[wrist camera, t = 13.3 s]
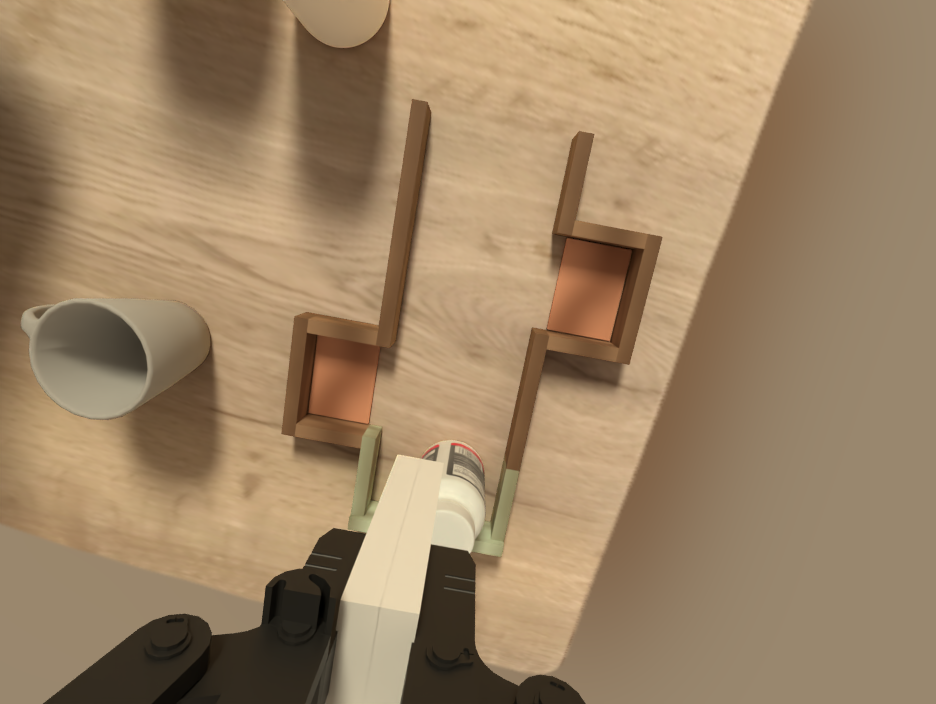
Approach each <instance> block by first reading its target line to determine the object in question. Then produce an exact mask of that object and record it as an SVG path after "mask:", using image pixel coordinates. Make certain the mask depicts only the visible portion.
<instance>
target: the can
mask: <svg viewBox="0 0 936 704" xmlns="http://www.w3.org/2000/svg"><path fill="white" fill-rule="evenodd" d="M283 1H284V2H285V4H286V5H287V6H288V7H289V9H290V10H291V11H292V12H293V14H294V15H295V16H296V17H297V19H298V20H299V21H300V22H301V23H302V25H303V26H304V27H305V28H306V29H307V30H308V32H309V33H310V34H311V35H313V36H314V37H315V38H316V39H318V40H319V41H321V42H322V43H324V44H327V45H329V46H332V47H337V48H350V47H355V46H358V45H360V44H362V43H364V42H366V41H368V40H369V39H370V38H371V37H373V36H374V35H375V34H376V33H377V31H378V30H379V29H380V27H381V26H382V24H383V22H384V20H385V18H386V15H387V12H388V7H389V0H283Z"/></svg>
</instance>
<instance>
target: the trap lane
mask: <svg viewBox="0 0 936 704" xmlns="http://www.w3.org/2000/svg"><path fill="white" fill-rule="evenodd" d="M430 118H431V110H430V108H429V105H428V102H425V101H419V100H414V99H412V104H411V111H410V118H409V124H408V131H407V138H406V145H405V151H404V158H403V165H402V172H401V179H400V185H399V192H398V199H397V206H396V212H395V219H394V226H393V233H392V240H391V246H390V253H389V260H388V267H387V273H386V280H385V287H384V294H383V301H382V307H381V314H380V321H379V325H374V324H368V323H363V322H357V321H352V320H347V319H341V318H336V317H331V316H325V315H320V314H314V313H309V312H306V313H303V314H300V315H297V316H295V317H294V326H293V335H292V344H291V353H290V362H289V371H288V380H287V389H286V398H285V407H284V416H283V425H282V434H284V435H289V436H295V437H300V438H306V439H311V440H317V441H322V442H327V443H333V444H338V445H344V446H349V447H355V448H360V449H361V450H360V456H359V463H358V470H357V477H356V483H355V490H354V497H353V504H352V511H351V515H350V517H349V523H348V529H349V530H354V531H360V532H365V533H367V531H368V528H369V526H370V523H371V521H372V518H373V516H374V513H375V511H376V508H377V505H378V503H379V502H378V501H372V500H371V496H372V490H373V483H374V477H375V470H376V464H377V458H378V451H379V445H380V438H381V432H382V427H381V426H376V425H370V424H369V419H370V412H371V405H372V399H373V392H374V385H375V379H376V372H377V365H378V359H379V352H380V346H381V347H386V348H390V347H391V346H392V345H393V344H394V343H395V342H396V336H397V329H398V323H399V317H400V310H401V304H402V297H403V291H404V285H405V278H406V272H407V265H408V259H409V252H410V246H411V240H412V233H413V227H414V220H415V214H416V208H417V201H418V195H419V188H420V182H421V175H422V169H423V163H424V156H425V150H426V143H427V137H428V131H429V124H430ZM593 138H594V134H592V133H586V132H581V131H579V132H578V133H577V134H576V136H575V137H574V138H573V139H572V143H571V148H570V152H569V157H568V162H567V166H566V171H565V176H564V180H563V185H562V190H561V194H560V199H559V204H558V208H557V213H556V218H555V222H554V227H553V232H552V234H556V235H561V236H567V237H572V238H577V239H583V240H588V241H593V242H598V243H604V244H609V245H614V246H620V247H625V248H630V249H633V251H632V250H629V249H623V248H618V247H613V246H607V245H602V244H597V243H592V242H586V241H581V240H576V239H570V238H567V239H566V243H565V248H564V252H563V257H562V261H561V266H560V270H559V275H558V279H557V284H556V289H555V293H554V298H553V302H552V307H551V311H550V316H549V320H548V325H547V329H548V330H553V331H559V332H564V333H569V334H564V333H559V332H553V331H548V330H543V329H537V328H532V330H531V335H530V339H529V344H528V349H527V353H526V358H525V363H524V367H523V372H522V377H521V381H520V386H519V391H518V395H517V400H516V405H515V409H514V414H513V419H512V423H511V428H510V433H509V437H508V442H507V447H506V451H505V456H504V461H503V465H502V470H501V475H500V479H499V484H498V489H497V493H496V498H495V503H494V507H493V512H492V517H491V521H490V522H488V521H484V525H483V528H482V530H481V532H480V534H479V535H478V536H477V538H476V539H475V542H474V546H473V549H472V551H471V552H476V553H482V554H487V555H493V556H498V557H502V552H503V548H504V538H505V534H506V529H507V525H508V520H509V516H510V511H511V507H512V502H513V498H514V493H515V489H516V484H517V480H518V475H519V471H520V466H521V462H522V457H523V453H524V448H525V444H526V439H527V435H528V430H529V426H530V421H531V417H532V412H533V408H534V403H535V399H536V394H537V390H538V385H539V381H540V376H541V372H542V367H543V363H544V358H545V354H546V349H548V350H553V351H558V352H564V353H569V354H575V355H580V356H585V357H591V358H596V359H601V360H607V361H612V362H617V363H623V364H628V365H629V364H630V360H631V356H632V352H633V349H634V345H635V341H636V337H637V333H638V329H639V325H640V322H641V318H642V314H643V310H644V306H645V302H646V299H647V295H648V291H649V287H650V283H651V279H652V276H653V272H654V268H655V264H656V260H657V256H658V253H659V249H660V245H661V241H662V237H661V236H655V235H650V234H645V233H640V232H634V231H629V230H624V229H618V228H613V227H608V226H603V225H597V224H592V223H587V222H582V221H576V220H575V219H576V214H577V210H578V205H579V201H580V196H581V192H582V187H583V183H584V178H585V174H586V169H587V165H588V160H589V156H590V152H591V147H592V143H593ZM631 253H632V255H631ZM630 257H631V259H630ZM629 261H630V263H629ZM628 265H629V267H628ZM627 269H628V271H627ZM626 273H627V275H626ZM625 277H626V279H625ZM624 281H625V283H624ZM623 285H624V287H623ZM622 289H623V291H622ZM621 293H622V295H621ZM620 297H621V299H620ZM619 301H620V303H619ZM618 305H619V307H618ZM617 309H618V311H617ZM616 313H617V315H616ZM615 317H616V319H615ZM614 321H615V323H614ZM613 325H614V327H613ZM612 329H613V331H612ZM611 333H612V335H611ZM570 334H575V335H580V336H586V337H591V338H596V339H602V340H607V341H610V342H607V341H602V340H596V339H591V338H586V337H580V336H575V335H570ZM317 335H318V337H317ZM610 337H611V339H610ZM316 341H317V346H316ZM315 350H316V354H315ZM314 358H315V362H314ZM313 366H314V370H313ZM312 374H313V379H312ZM311 383H312V387H311ZM310 391H311V395H310ZM309 399H310V403H309ZM308 407H309V411H308ZM310 413H311V414H310ZM316 414H317V415H316ZM321 415H322V416H321ZM327 416H328V417H327ZM332 417H333V418H332ZM337 418H339V419H337ZM343 419H344V420H343ZM348 420H350V421H348ZM354 421H355V422H354ZM359 422H360V423H359ZM365 423H366V424H365Z"/></svg>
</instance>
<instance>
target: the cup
mask: <svg viewBox="0 0 936 704" xmlns="http://www.w3.org/2000/svg"><path fill="white" fill-rule="evenodd" d="M21 328H22V330H23V331H24V332H25V333H26V334H27V335H28V337H29V338H30V344H29V356H30V363H31V367H32V370H33V372H34V375H35V377H36V379H37V382H38V383H39V385H40V386H41V387H42V389H43V390H44V391H45V393H46V394H47V395H48V396H49V397H50V398H51V399H52V400H53V401H54V402H55V403H57V404H58V405H59V406H60V407H62V408H64V409H65V410H67V411H69V412H71V413H72V414H74V415H78V416H81V417H85V418H88V419H97V420H109V419H114V418H118V417H122V416H124V415H126V414H128V413H130V412H131V411H133V410H135V409H137V408H138V407H140V406H141V405H143V404H144V403H146V402H148V401H149V400H151V399H152V398H154V397H155V396H157V395H159V394H160V393H162V392H163V391H165V390H166V389H168V388H169V387H171V386H172V385H174V384H175V383H177V382H178V381H179V380H181V379H182V378H183V377H185V376H186V375H188V374H189V373H190V372H192V371H193V370H194V369H196V368H197V367H199V366H200V364H201V363H202V362H203V361H204V360H205V359H206V357H207V355H208V353H209V349H210V344H211V343H210V333H209V330H208V327H207V324H206V323H205V321H204V320H203V318H202V316H201V315H200V314H199V313H198V312H197V311H196V310H195V309H193V308H192V307H190V306H188V305H187V304H185V303H181V302H178V301H171V300H153V299H132V298H75V299H70V300H66V301H62V302H60V303H58V304H56V305H42V306H36V307H32V308H30V309H28V310H26V311H24V313H23V315H22V319H21Z"/></svg>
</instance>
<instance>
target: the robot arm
mask: <svg viewBox="0 0 936 704" xmlns="http://www.w3.org/2000/svg"><path fill="white" fill-rule="evenodd" d="M443 466H444V463H441V462H436V461H431V460H425V459H420V458H414V457H409V456H403V455H398V454H397V457H396V460H395V462H394V465H393V467H392V470H391V472H390V475H389V477H388V480H387V482H386V485H385V488H384V490H383V493H382V495H381V498H380V500H379V503H378V505H377V508H376V511H375V513H374V516H373V518H372V521H371V523H370V526H369V528H368V531H367V533H366V534H364V533H358V532H353V531H347V530H341V529H336V528H333V529H332V530H330V531H329V532H327V533H326V534H325V535H323V536H322V537H320V538H319V540H318V542H317V543H316V545H315V547H314V549H313V551H312V554H311V555H310V556H309V558H308V560H307V562H306V564H305V566H304V567H303V569H296V570H291V571H286V572H284V573H282V574H280V575H278V576H276V577H274V578H273V579H272V580H271V581H270V582H269V583H268V584H267V585H266V589H265V598H264V607H263V616H262V624H261V626H260V627H258V628H255V629H252V630H249V631H245V632H240V633H234V634H222V635H212V632H211V630H210V627H209V625H208V623H207V622H205V621H204V620H203V619H201V618H200V617H198V616H193V615H188V614H176V615H168V616H165V617H162V618H159V619H156V620H153V621H151V622H149V623H148V624H146V625H145V626H143V627H141V628H139V629H138V630H137V631H135V632H134V633H133V634H131V635H130V636H129V637H128V638H126V639H125V640H124V641H123V642H121V643H120V644H119V645H117V646H116V647H115V648H114V649H112V650H111V651H110V652H108V653H107V654H106V655H105V656H103V657H102V658H101V659H100V660H98V661H97V662H96V663H94V664H93V665H92V666H91V667H89V668H88V669H87V670H86V671H84V672H83V673H82V674H80V675H79V676H78V677H76V678H75V679H74V680H73V681H71V682H70V683H69V684H68V685H66V686H65V687H64V688H62V689H61V690H60V691H59V692H57V693H56V694H55V695H53V696H52V697H51V698H50V699H48V700H47V701H46V702H45V703H43V704H585V702H584V701H583V699H582V698H581V696H580V695H579V693H578V692H577V691H575V690H574V689H573V688H572V687H571V686H569V685H568V684H567V683H566V682H563V681H561V680H559V679H557V678H555V677H553V676H546V675H536V676H532V677H529V678H527V679H526V680H525V681H524V682H522V683H521V684H520V686H518V685H516V684H514V683H511V682H509V681H507V680H505V679H503V678H502V677H500V676H498V675H497V674H495V673H493V672H492V671H491V670H490V669H489V668H488V667H487V666H486V665H485V664H484V663H483V661H482V660H481V659H480V657H479V655H478V653H477V650H476V646H475V567H476V565H475V563H474V561H473V559H472V558H471V556H470V554H469V552H468V551H466V550H461V549H455V548H449V547H444V546H438V545H433V544H431V540H432V534H433V528H434V521H435V515H436V509H437V503H438V497H439V490H440V484H441V478H442V472H443Z"/></svg>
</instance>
